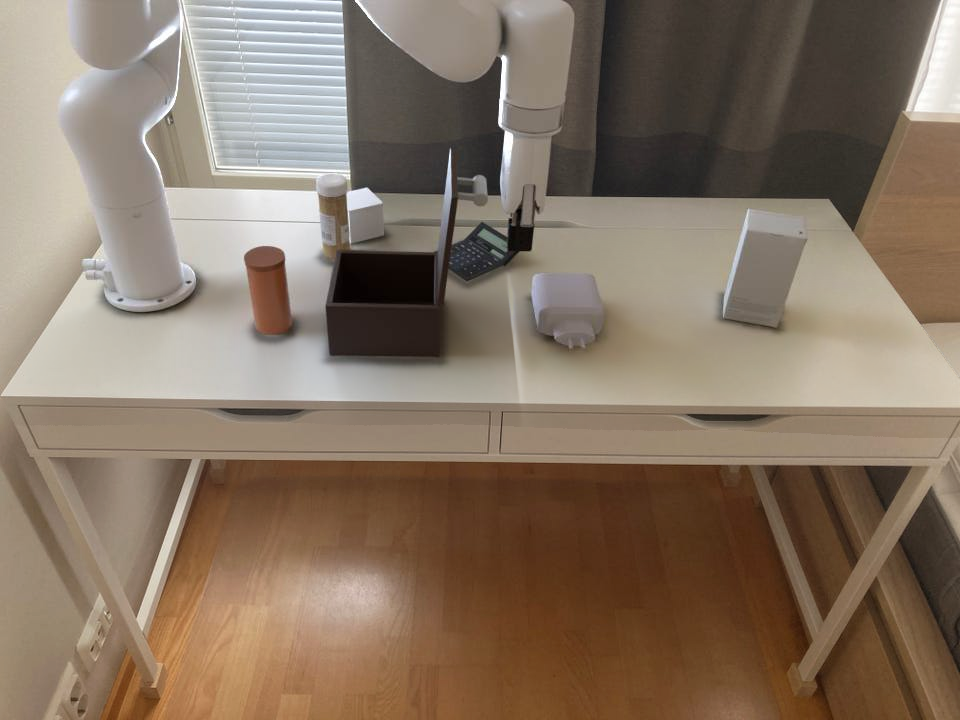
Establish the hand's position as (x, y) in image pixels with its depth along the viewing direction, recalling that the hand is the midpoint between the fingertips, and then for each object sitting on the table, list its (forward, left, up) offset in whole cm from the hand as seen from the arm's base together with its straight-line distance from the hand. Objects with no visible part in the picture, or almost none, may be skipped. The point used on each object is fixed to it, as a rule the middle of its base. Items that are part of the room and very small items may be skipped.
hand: (518, 247), depth 105 cm
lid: (-10, 0, +3) cm, 10 cm away
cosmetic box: (+36, +6, -14) cm, 40 cm away
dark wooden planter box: (-18, 0, -14) cm, 22 cm away
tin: (-33, 0, -14) cm, 36 cm away
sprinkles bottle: (-27, +19, -14) cm, 35 cm away
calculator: (-5, +19, -14) cm, 24 cm away
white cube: (-24, +27, -14) cm, 38 cm away
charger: (+8, +1, -14) cm, 16 cm away
